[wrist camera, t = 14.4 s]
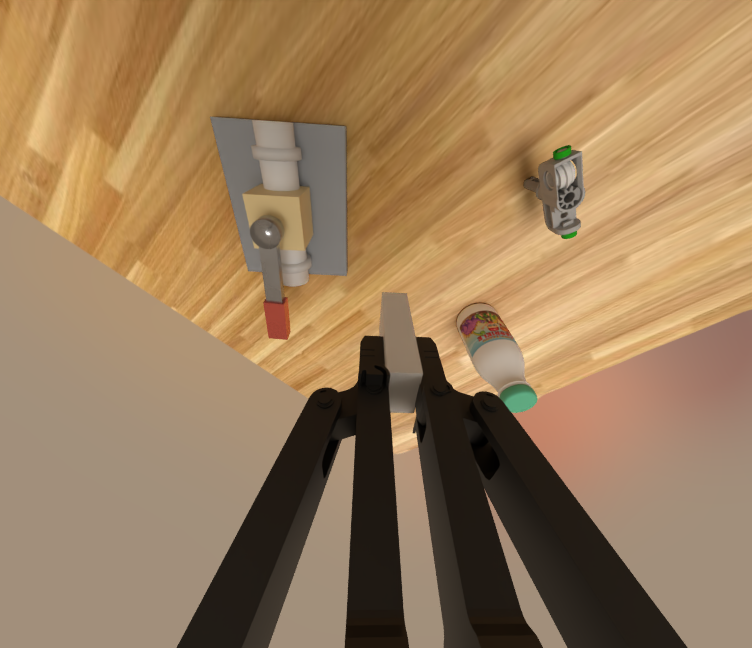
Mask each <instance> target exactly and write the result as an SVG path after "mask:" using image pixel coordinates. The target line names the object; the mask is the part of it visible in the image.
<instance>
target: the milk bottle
mask: <svg viewBox="0 0 752 648" xmlns="http://www.w3.org/2000/svg"><path fill="white" fill-rule="evenodd" d="M457 328H458V331H459V333H460V336H461V338H462V340H463V343H464V345H465V347H466V350H467V352H468V354H469V357H470V359H471V361H472V363H473V365H474V367H475V369H476V371H477V372H478V374H479V375H480V376H481V377H482V378H483V379H484V380H485V381H487V382H488V383H489V384H491V385H492V386H493V387H494V388H495V389H496V390H497V392H498V397H499V398H500V399H501V400H502V401H503V402H504V403H505V405H506V406H507V407H508V409H509V410H510V411H511V412H513V413H517V412H523V411H526V410H528V409H530V408H532V407H533V406H534V405H535V404H536V402H537V396H536V394H535V392H534V390H533V389H532V388H531V385H530V384H529V383H527V382H526V379H525V374H524V358H523V355H522V352H521V350H520V348H519V346H518V345H517V343H516V341H515V340H514V338H513V336H512V335H511V333H510V332H509V330H508V329H507V327H506V326H505V324H504V323H503V321H502V320H501V318H500V317H499V315H498V314H497V312H496V311H495V309H494V308H493V307H491V306H490V305H487V304H482V303H477V304H473V305H470V306H468V307H466V308H465V309H464V310H462V312H461V313H460V314H459V316H458V318H457Z"/></svg>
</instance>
